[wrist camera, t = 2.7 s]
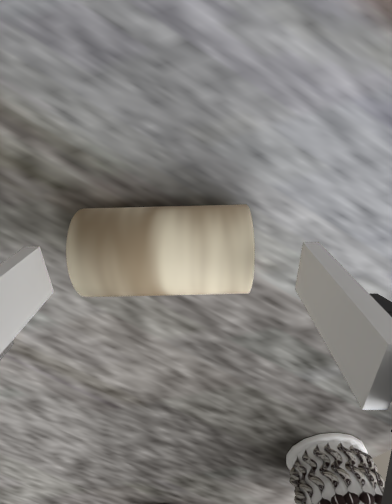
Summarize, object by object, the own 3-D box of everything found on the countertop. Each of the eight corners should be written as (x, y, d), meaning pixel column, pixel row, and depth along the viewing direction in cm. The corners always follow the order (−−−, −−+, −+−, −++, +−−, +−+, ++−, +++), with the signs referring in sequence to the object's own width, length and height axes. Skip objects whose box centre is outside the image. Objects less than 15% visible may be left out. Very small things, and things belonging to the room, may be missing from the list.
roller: (107, 271, 19) (79, 315, 14) (95, 199, 17) (56, 224, 12) (237, 268, 18) (251, 312, 14) (240, 195, 16) (257, 219, 12)
